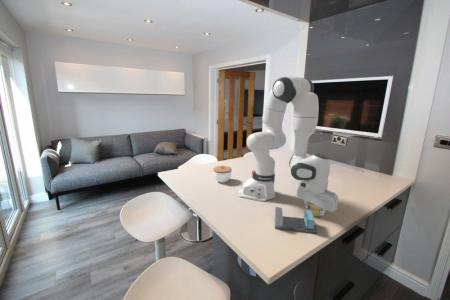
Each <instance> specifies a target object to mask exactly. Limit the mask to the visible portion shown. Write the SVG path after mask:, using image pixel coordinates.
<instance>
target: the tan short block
mask: <svg viewBox="0 0 450 300" xmlns="http://www.w3.org/2000/svg"><path fill="white" fill-rule="evenodd" d="M308 210H311V211H312V214H313V217H314V218H321V215H320V212H321V211H322V208H321V207H319V206H317V205H314V204H309V209H308Z"/></svg>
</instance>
